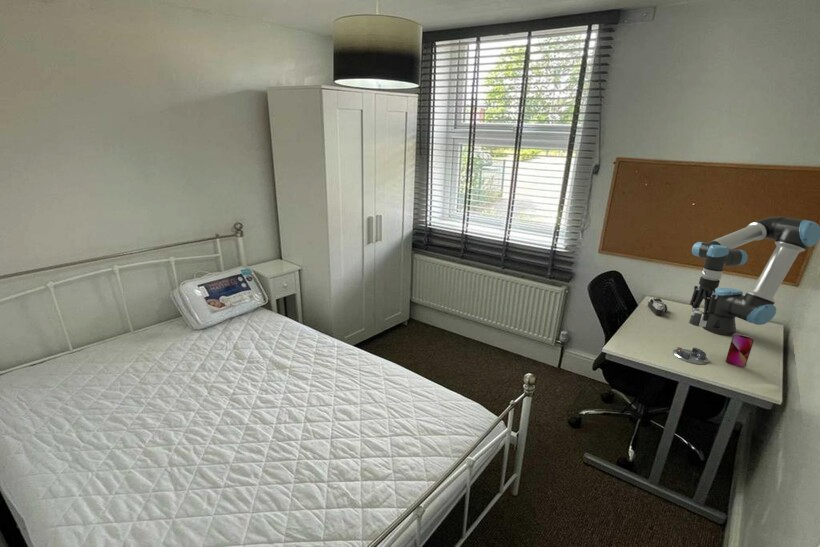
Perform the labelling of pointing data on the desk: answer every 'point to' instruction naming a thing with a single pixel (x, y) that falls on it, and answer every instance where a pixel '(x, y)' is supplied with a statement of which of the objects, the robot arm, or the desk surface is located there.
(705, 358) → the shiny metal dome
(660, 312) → the camera
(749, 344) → the smartphone
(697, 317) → the dark grey short cylinder
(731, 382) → the desk surface
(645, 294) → the desk surface
